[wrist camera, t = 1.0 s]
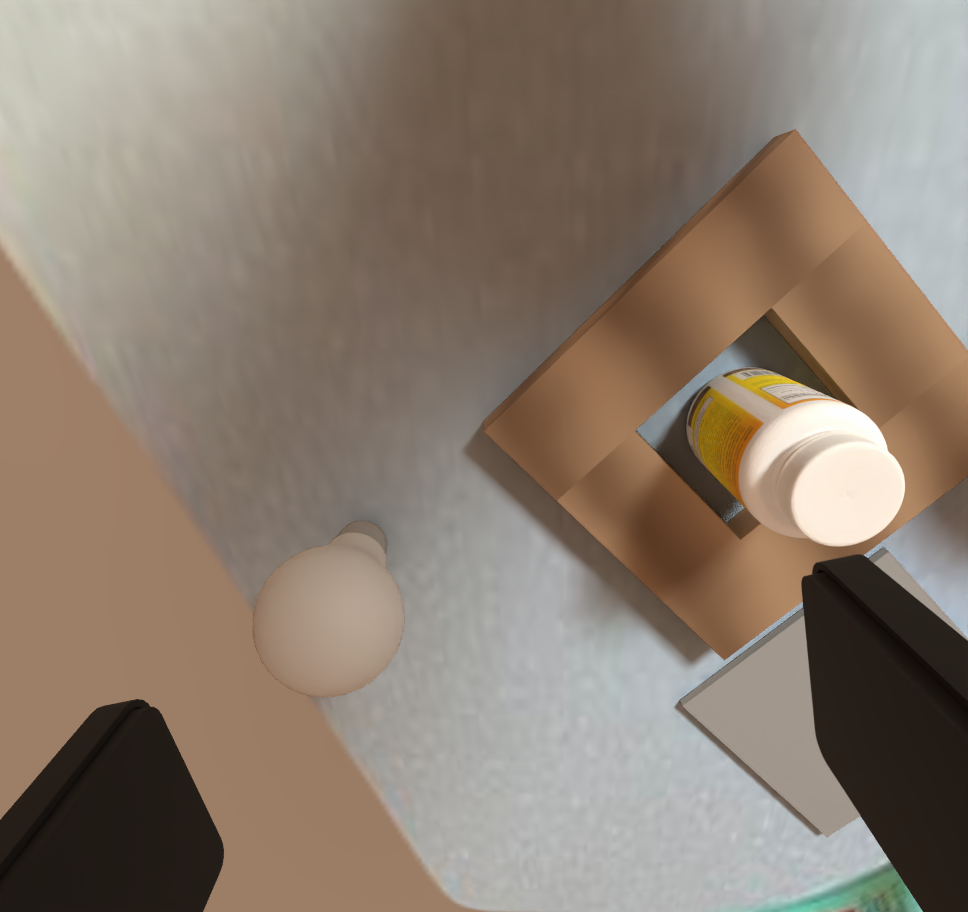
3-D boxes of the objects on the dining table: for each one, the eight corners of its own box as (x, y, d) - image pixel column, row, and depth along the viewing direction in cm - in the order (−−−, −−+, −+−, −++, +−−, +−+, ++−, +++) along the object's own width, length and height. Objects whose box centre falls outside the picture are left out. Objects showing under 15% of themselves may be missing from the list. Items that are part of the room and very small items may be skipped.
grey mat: (883, 547, 34) (889, 551, 33) (1022, 701, 37) (1029, 707, 36) (680, 700, 37) (682, 706, 37) (822, 830, 40) (827, 837, 40)
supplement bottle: (713, 491, 33) (805, 594, 23) (663, 402, 32) (739, 474, 22) (813, 435, 32) (954, 519, 22) (767, 342, 31) (895, 388, 21)
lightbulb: (441, 511, 34) (419, 632, 23) (396, 602, 35) (356, 753, 25) (333, 463, 33) (260, 567, 22) (292, 559, 35) (206, 696, 24)
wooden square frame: (774, 136, 28) (795, 129, 26) (997, 418, 32) (1029, 429, 30) (484, 420, 32) (484, 431, 30) (712, 638, 36) (724, 660, 34)
